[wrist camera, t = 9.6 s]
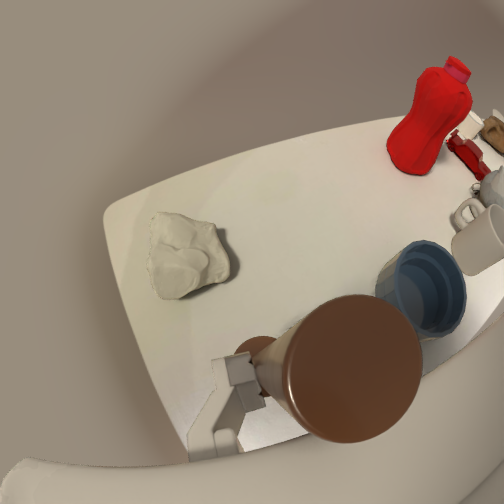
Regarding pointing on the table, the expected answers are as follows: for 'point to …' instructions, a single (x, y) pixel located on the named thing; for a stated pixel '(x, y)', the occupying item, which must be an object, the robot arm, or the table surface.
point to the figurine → (490, 190)
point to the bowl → (494, 132)
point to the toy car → (469, 154)
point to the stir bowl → (425, 288)
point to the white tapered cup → (470, 125)
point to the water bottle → (431, 117)
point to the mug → (479, 238)
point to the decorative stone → (184, 255)
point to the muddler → (342, 368)
